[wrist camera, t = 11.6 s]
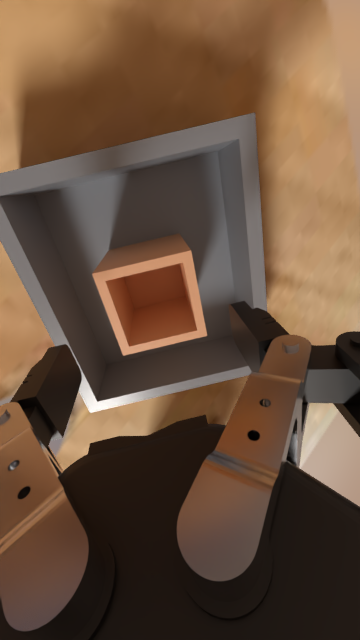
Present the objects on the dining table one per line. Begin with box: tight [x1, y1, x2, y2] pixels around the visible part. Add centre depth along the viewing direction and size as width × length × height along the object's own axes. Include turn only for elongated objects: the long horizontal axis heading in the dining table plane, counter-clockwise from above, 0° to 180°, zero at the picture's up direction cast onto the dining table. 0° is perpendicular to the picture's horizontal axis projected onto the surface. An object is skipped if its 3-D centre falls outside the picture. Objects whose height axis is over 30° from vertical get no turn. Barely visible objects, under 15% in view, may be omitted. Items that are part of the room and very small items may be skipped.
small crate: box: [92, 233, 207, 356], centre depth 20 cm, size 6×6×7 cm
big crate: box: [0, 113, 267, 413], centre depth 21 cm, size 18×16×6 cm
